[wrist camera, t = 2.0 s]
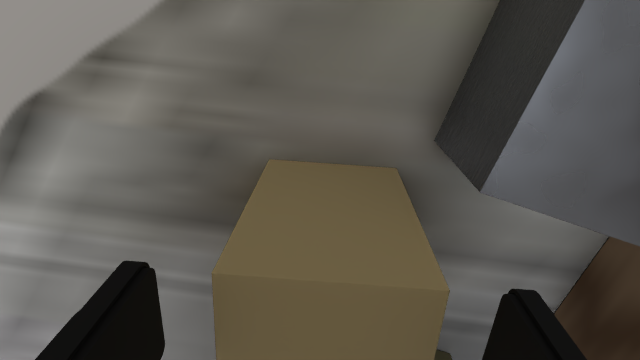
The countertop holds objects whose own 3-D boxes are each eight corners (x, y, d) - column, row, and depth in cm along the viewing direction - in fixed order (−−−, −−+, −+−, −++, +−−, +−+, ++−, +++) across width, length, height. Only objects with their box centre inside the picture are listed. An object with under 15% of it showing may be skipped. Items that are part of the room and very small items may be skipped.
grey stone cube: (550, 180, 18) (648, 249, 12) (433, 139, 17) (479, 192, 12) (652, 16, 15) (835, 10, 10) (516, -38, 15) (627, -78, 9)
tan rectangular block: (385, 241, 19) (423, 403, 11) (268, 233, 19) (217, 387, 11) (396, 168, 18) (449, 290, 10) (269, 159, 18) (211, 273, 10)
